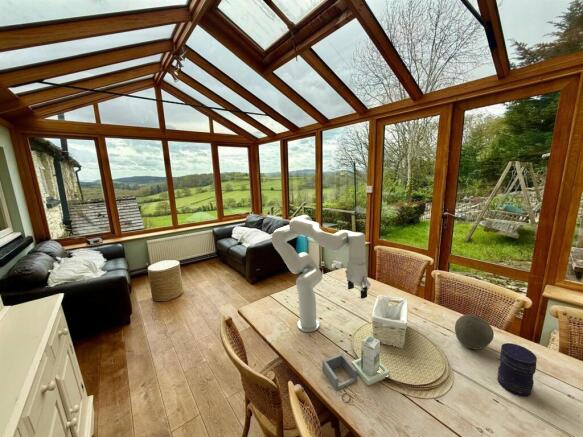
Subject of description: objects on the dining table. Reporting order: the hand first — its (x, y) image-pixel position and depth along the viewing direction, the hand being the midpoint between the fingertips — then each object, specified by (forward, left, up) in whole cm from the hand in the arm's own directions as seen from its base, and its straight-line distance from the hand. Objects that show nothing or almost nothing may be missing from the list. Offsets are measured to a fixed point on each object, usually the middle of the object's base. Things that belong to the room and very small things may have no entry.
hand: (357, 293), depth 112 cm
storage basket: (0, +21, -29) cm, 36 cm away
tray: (+15, -5, -28) cm, 32 cm away
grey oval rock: (+24, +48, -28) cm, 61 cm away
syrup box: (+15, -5, -28) cm, 32 cm away
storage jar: (+44, +40, -28) cm, 66 cm away
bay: (+11, -18, -28) cm, 35 cm away
